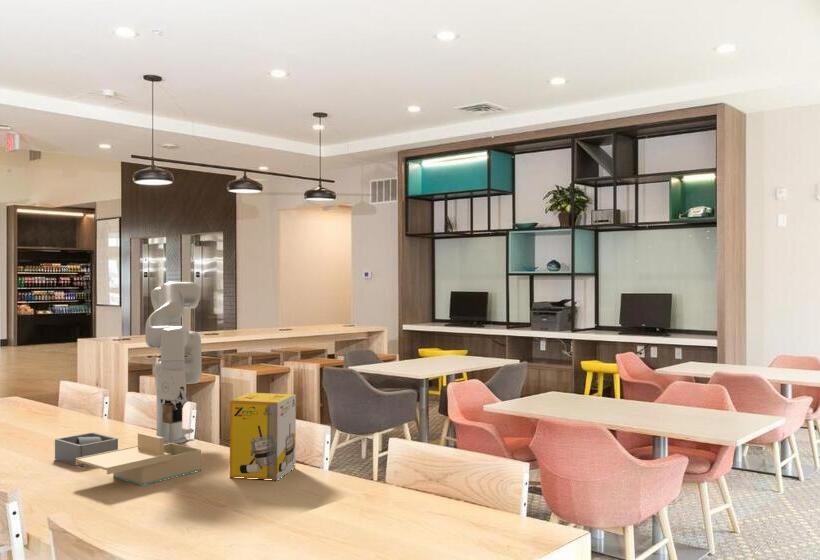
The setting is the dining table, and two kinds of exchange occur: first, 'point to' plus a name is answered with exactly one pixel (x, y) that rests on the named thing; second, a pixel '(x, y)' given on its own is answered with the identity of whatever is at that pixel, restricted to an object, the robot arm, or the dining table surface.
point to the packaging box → (262, 435)
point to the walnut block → (168, 413)
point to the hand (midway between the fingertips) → (172, 419)
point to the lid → (129, 455)
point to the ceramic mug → (87, 440)
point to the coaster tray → (82, 447)
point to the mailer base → (165, 466)
